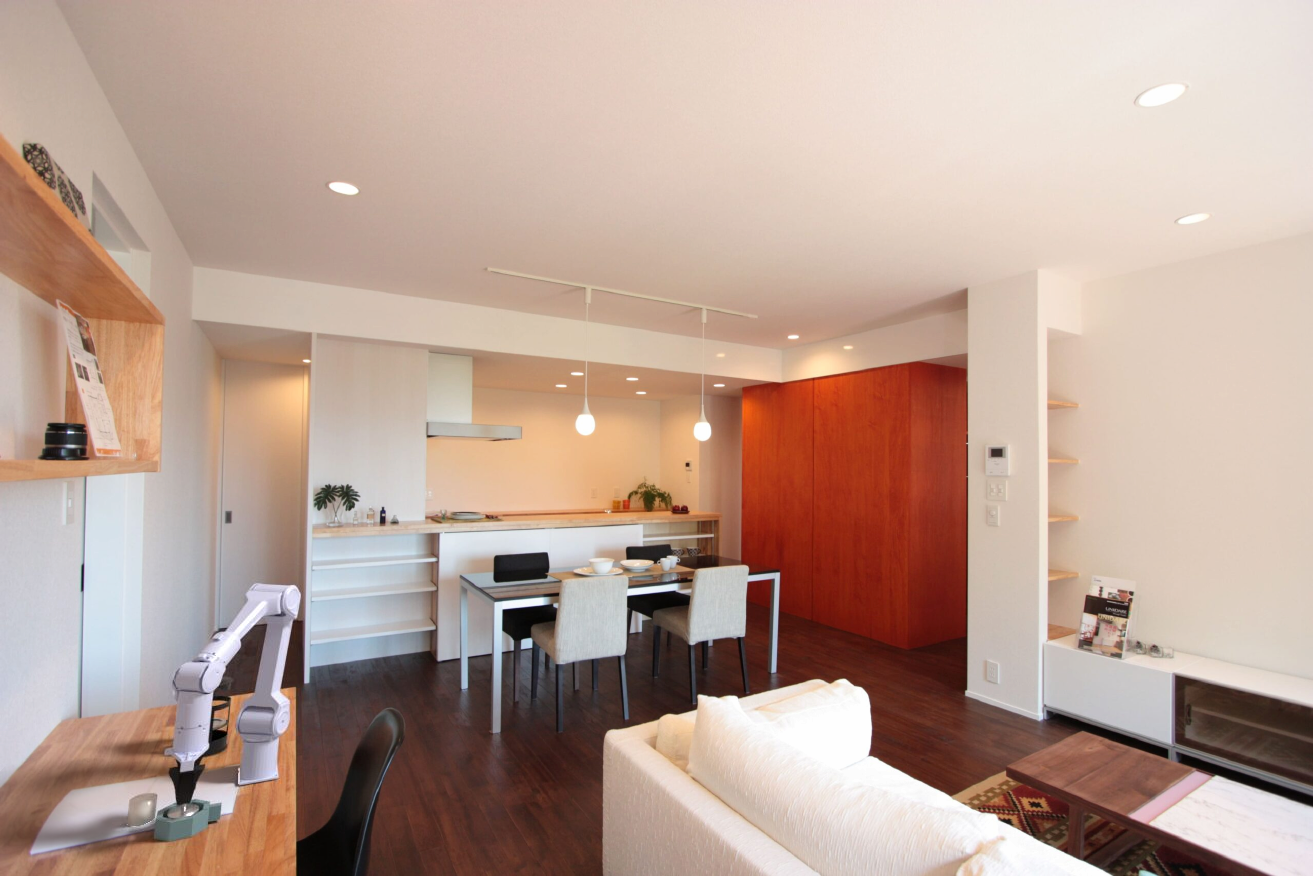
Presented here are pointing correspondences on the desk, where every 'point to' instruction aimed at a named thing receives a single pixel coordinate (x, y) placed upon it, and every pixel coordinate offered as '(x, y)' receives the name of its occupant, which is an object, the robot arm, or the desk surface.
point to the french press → (219, 721)
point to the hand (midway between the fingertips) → (185, 795)
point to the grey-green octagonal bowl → (185, 821)
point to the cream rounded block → (142, 809)
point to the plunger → (183, 811)
